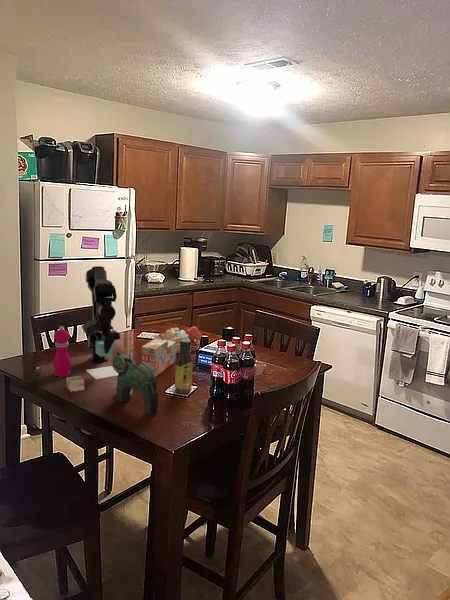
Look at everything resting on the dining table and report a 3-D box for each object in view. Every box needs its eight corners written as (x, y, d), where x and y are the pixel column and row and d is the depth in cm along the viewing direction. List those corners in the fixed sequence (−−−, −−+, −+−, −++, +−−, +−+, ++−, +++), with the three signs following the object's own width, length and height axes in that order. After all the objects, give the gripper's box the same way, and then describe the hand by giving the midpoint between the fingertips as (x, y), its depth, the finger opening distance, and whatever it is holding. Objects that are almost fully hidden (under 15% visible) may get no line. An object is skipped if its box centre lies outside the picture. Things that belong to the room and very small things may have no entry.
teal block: (95, 352, 204) (95, 341, 203) (107, 351, 207) (107, 339, 206) (100, 356, 200) (100, 344, 199) (112, 354, 203) (112, 342, 202)
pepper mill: (54, 378, 196) (53, 329, 192) (51, 372, 203) (50, 324, 198) (73, 376, 200) (72, 327, 195) (69, 370, 206) (69, 323, 202)
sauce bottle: (184, 395, 187) (186, 344, 183) (171, 391, 190) (172, 341, 186) (194, 390, 192) (196, 340, 188) (181, 386, 196) (183, 337, 191)
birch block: (66, 387, 189) (66, 377, 188) (80, 385, 191) (80, 375, 191) (70, 392, 185) (70, 382, 184) (84, 390, 187) (84, 380, 187)
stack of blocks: (163, 359, 226) (163, 333, 223) (176, 361, 224) (176, 334, 221) (141, 375, 206) (141, 346, 203) (155, 377, 204) (155, 348, 201)
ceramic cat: (111, 399, 180) (111, 346, 176) (125, 394, 185) (126, 342, 181) (148, 417, 168) (150, 360, 164) (162, 411, 173) (164, 356, 169)
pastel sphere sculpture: (199, 356, 233) (200, 337, 231) (149, 353, 233) (149, 334, 231) (203, 340, 257) (204, 323, 255) (157, 338, 258) (158, 320, 256)
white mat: (85, 371, 206) (85, 370, 206) (111, 366, 212) (111, 365, 212) (95, 379, 197) (95, 378, 197) (122, 375, 204) (122, 374, 204)
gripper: (76, 310, 202) (76, 347, 206) (93, 321, 188) (93, 361, 191) (102, 308, 209) (102, 344, 212) (121, 318, 194) (120, 357, 197)
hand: (103, 351), depth 203 cm, fingers closed on teal block, 5 cm apart
